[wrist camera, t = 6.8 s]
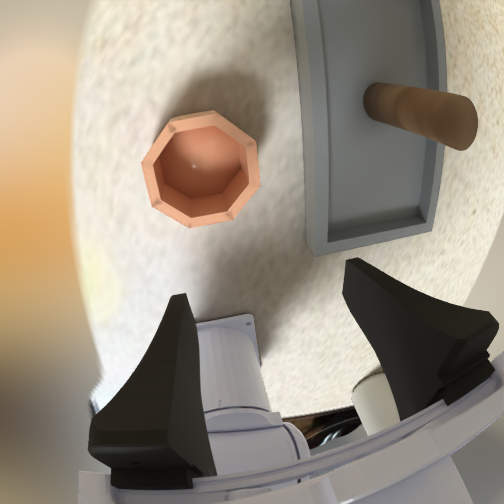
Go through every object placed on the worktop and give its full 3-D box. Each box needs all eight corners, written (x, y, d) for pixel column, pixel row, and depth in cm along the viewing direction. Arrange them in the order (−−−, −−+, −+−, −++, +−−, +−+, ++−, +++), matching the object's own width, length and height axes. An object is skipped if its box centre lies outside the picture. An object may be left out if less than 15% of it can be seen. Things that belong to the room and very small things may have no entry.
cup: (251, 193, 20) (263, 214, 17) (163, 210, 19) (159, 234, 16) (241, 105, 17) (252, 108, 14) (144, 123, 16) (133, 130, 13)
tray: (419, 221, 24) (431, 231, 23) (305, 243, 23) (314, 256, 21) (421, -9, 12) (436, -12, 11) (283, -39, 11) (293, -50, 9)
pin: (395, 121, 18) (475, 151, 12) (363, 121, 18) (443, 150, 11) (395, 84, 17) (478, 99, 10) (362, 81, 16) (446, 92, 10)
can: (395, 374, 41) (427, 429, 31) (361, 399, 43) (387, 455, 33) (379, 365, 37) (415, 429, 27) (340, 393, 39) (369, 457, 30)
